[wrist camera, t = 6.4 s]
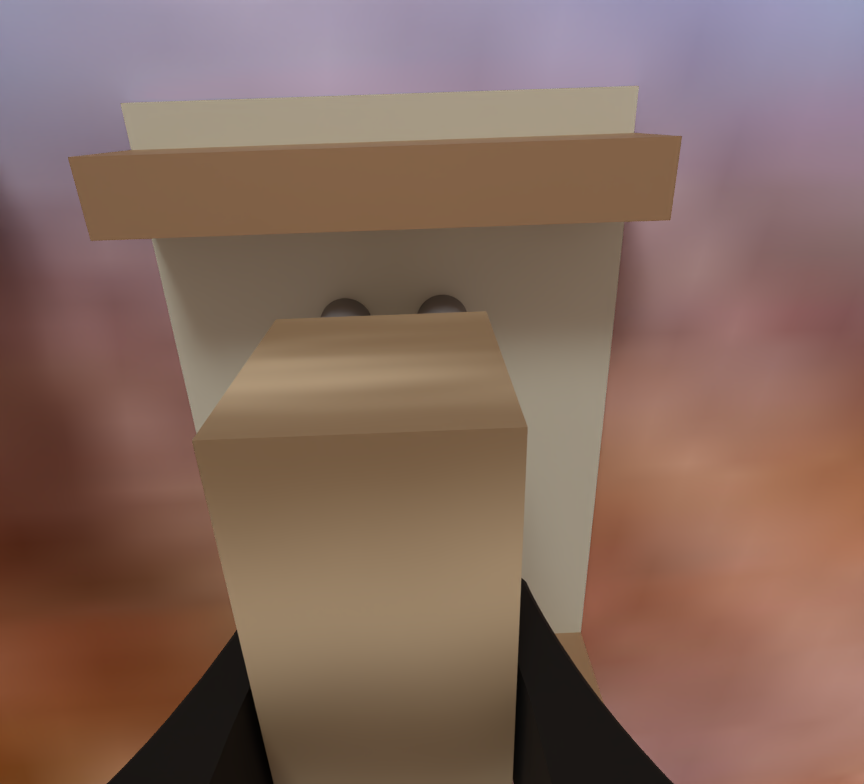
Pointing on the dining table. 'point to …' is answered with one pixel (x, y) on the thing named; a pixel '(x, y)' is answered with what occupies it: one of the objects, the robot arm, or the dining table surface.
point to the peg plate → (407, 251)
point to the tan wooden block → (374, 545)
